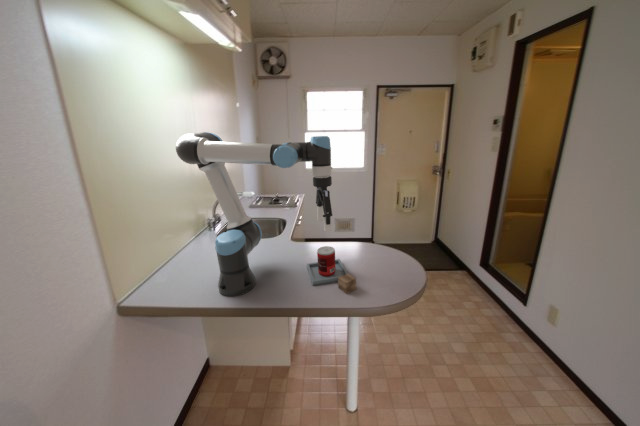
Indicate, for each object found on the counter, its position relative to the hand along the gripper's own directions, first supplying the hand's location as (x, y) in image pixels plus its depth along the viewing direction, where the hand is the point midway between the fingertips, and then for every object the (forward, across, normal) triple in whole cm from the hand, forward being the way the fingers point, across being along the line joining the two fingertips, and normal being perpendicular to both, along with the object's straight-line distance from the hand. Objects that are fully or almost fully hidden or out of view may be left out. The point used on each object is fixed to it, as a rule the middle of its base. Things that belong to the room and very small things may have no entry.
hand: (324, 225), depth 117 cm
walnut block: (+23, -14, -5) cm, 27 cm away
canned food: (+22, 0, 0) cm, 22 cm away
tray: (+23, 0, 0) cm, 23 cm away
